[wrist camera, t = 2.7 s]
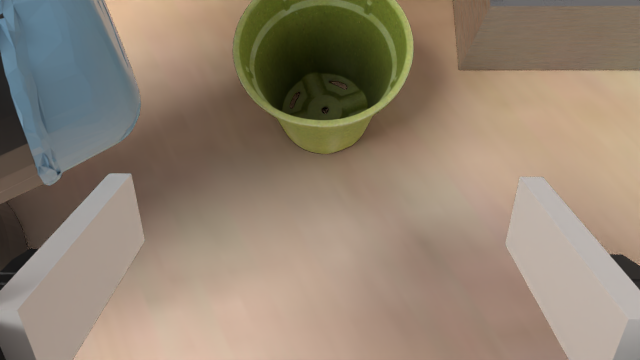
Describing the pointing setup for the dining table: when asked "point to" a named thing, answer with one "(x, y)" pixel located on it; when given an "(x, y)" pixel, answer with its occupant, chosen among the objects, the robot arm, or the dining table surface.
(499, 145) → the dining table surface
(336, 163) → the dining table surface
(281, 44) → the plant pot
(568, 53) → the gray open-top box
